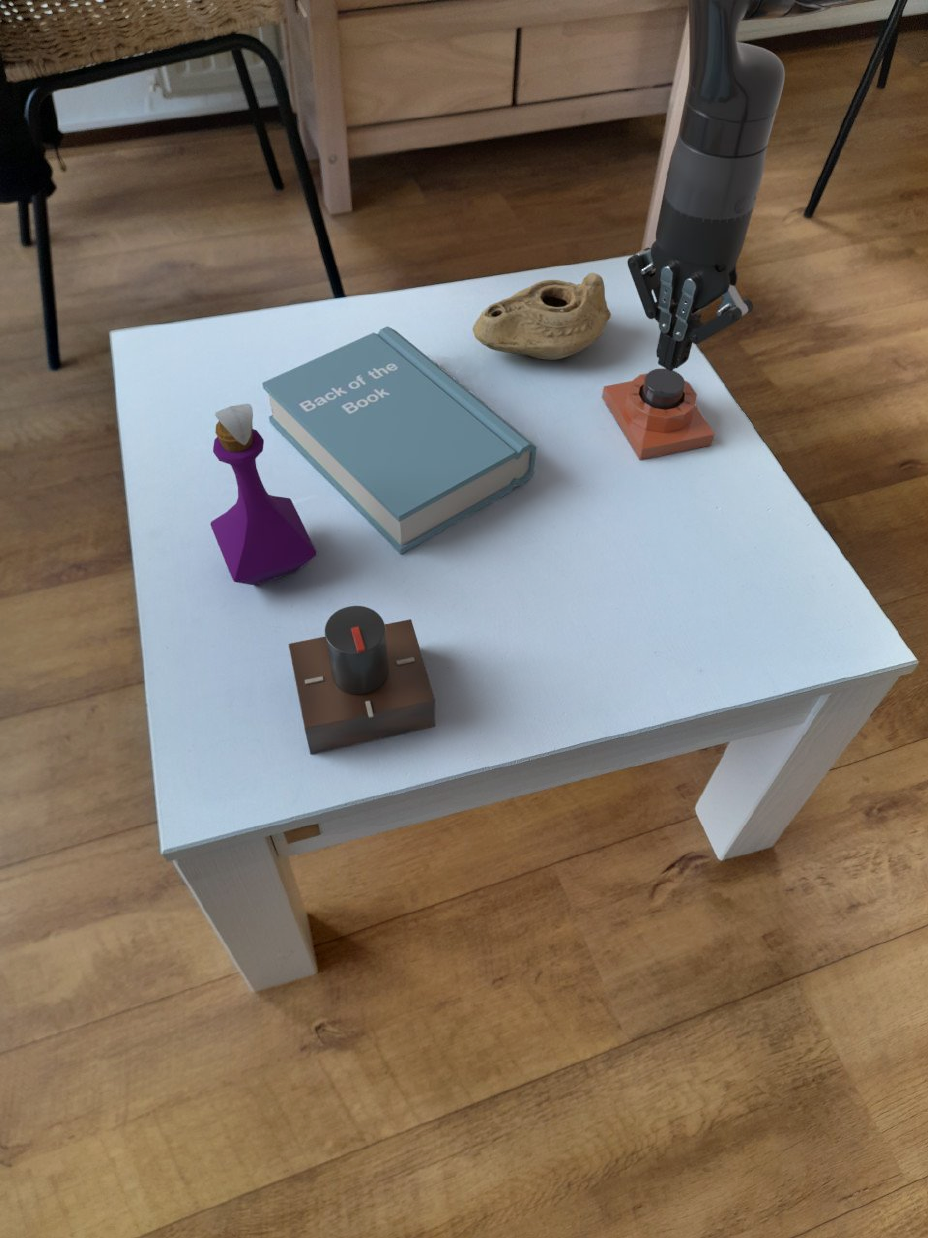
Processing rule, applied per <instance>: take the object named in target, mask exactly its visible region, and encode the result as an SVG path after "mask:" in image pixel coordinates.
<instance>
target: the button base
mask: <svg viewBox="0 0 928 1238" xmlns="http://www.w3.org/2000/svg"><path fill="white" fill-rule="evenodd" d="M648 373H649V372H647V373H641V374H639V375H637V377H635V378H634V379H632V380H630V381H625V382H620V383H619V382H618V383H613V384H609V385H604V386H603V389H602V395H601V398H602V400H603V401H604V403H605V405H606V407H607V409H608V410H609V412H610V414H611V416H613V419H614V420H615V421H616V424H617V425H618V426H619V428H620V430H621V432H622V433H623V435H624V437H625V438H626V440H627V442H628V444H629V445H630V447H631V448H632V450H633V452H634V453H635V455H636V456H637V458H638V460H639V461H643V460H647V459H652V458H658V457H662V456H667V455H671V454H675V453H680V452H681V453H682V452H685V451H690V450H695V449H701V448H705V447H709V446H710V447H711V446H712V445H713V443H714V439H715V435H716V434H715V432H714V431H713V429H712V428H711V426H710V425H709V424H708V422H707V420H706V419H705V417H704V416H703V415H702V413H701V412H700V410H699V408H698V407H697V397H698V395H697V392H696V391H695V390H694V388H693V386H692V385H691V384H690V382H689V381H687V380H685V379H684V381H685V387H684V391H683V395H682V399H681V402H680V404H679V405H678V406H677V407H675V408H672V409H667V410H664V409H658V408H653V407H652V406H650V405H648V404H646V403H645V402H644V401H643V399H642V389H643V385H644V380H645V377H646V375H647V374H648Z"/></svg>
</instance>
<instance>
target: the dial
mask: <svg viewBox="0 0 928 1238" xmlns="http://www.w3.org/2000/svg"><path fill="white" fill-rule="evenodd" d="M384 624H385V621H384V620H383V618H382V616H381V615H380V614H379V613H378V612H377V611H375V610H374V609H372V608H370V607H368V606H364V605H350V606H346V607H343V608H340V609H338V610H337V611H335V612H334V613H333V614H332V615H331V616H330V617H329V618H328V619H327V621H326V624H325V626H324V637H325V638H326V644H327V650H328V656H329V661H330V667H331V673H332V678H333V680H334V682H335V684H336V685H337V686H338V687H339V688H340V689H342V690H343V691H345V692H348V693H351V694H367V693H370V692H372V691H374V690H376V689H378V688H379V687H380V686H381V685H382V684H383V683H384V682H385V680H386V678H387V675H388V658H387V646H386V634H385V625H384Z"/></svg>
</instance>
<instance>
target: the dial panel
mask: <svg viewBox="0 0 928 1238" xmlns="http://www.w3.org/2000/svg"><path fill="white" fill-rule="evenodd" d="M384 625H385V634H386V646H387V658H388V675H387V678H386V680H385V682H384V683H383V684H382V685H381V686H380V687H379V688H378V689H376V690H374V691H372V692H370V693H367V694H351V693H348V692H345V691H343V690H342V689H340V688H339V687H338V686H337V685H336V684H335V682H334V680H333V678H332V673H331V667H330V661H329V656H328V650H327V644H326V638H325V636H321V637H315V638H311V639H306V640H300V641H295V642H292V643H288V649H289V650H288V651H289V656H290V659H291V660H290V661H291V665H292V670H293V676H294V681H295V686H296V692H297V697H298V702H299V708H300V712H301V717H302V724H303V728H304V732H305V737H306V741H307V745H308V749H309V750H308V751H309V753H310V755H314V754H318V753H323V752H328V751H332V750H337V749H342V748H345V747H350V746H355V745H358V744H359V745H360V744H364V743H368V742H373V741H377V740H382V739H386V738H390V737H395V736H399V735H403V734H408V733H413V732H417V731H421V730H426V729H430V728H434V727H436V699H435V695H434V692H433V689H432V685H431V681H430V678H429V675H428V671H427V669H426V665H425V661H424V658H423V654H422V651H421V648H420V644H419V641H418V637H417V633H416V631H415V627H414V625H413V620H412V618H411V619H409V618H408V619H405V620H400V621H396V622H390V623H384Z"/></svg>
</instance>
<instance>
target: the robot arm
mask: <svg viewBox="0 0 928 1238" xmlns="http://www.w3.org/2000/svg"><path fill="white" fill-rule="evenodd" d="M874 1H876V0H687V11H688V14H687V15H688V35H689V36H688V39H689V40H688V42H689V43H688V44H689V45H688V46H689V49H688V50H689V51H688V52H689V55H688V56H689V59H688V61H689V63H688V64H689V65H688V81H687V86H686V87H687V88H686V92H685V97H684V103H683V107H682V112H681V117H680V123H679V128H678V133H677V136H676V140H675V142H674V146H673V148H672V152H671V155H670V157H669V162H668V167H667V168H668V169H667V172H666V179H665V182H664V183H665V184H664V189H663V194H662V199H661V203H660V209H659V213H658V214H659V215H658V220H657V225H656V230H655V241H654V242H652V245H651V247H645V248H644V249H642V250H640V251H638V252H636V253H635V254H633V255H632V256H630V257H629V258H628V259H627V267H628V270H629V272H630V275H631V278H632V281H633V283H634V287H635V289H636V292H637V294H638V297H639V300H640V303H641V305H642V306H641V307H642V308H643V311H644V313H645V316H646V318H648V319H649V320H655V321H656V322H657V323H658V329H659V332H660V333H659V337H658V340H657V341H658V342H657V346H656V351H655V352H656V353H655V354H656V357H657V358H658V361H657V364H658V365H659V366H660V367H661V368H663V369H668V370H669V371H672V370H673V371H675V369H678V368H679V367H681V366H682V365H684V364H685V363H686V362H687V361H688V360H689V358H690V353H691V349H692V347H693V344H694V345H698V344H700V343H702V342H704V341H706V340H707V339H709V338H711V337H713V336H714V335H716V334H718V333H719V332H721V331H723V330H725V329H726V328H728V327H730V326H732V325H734V324H735V323H737V322H738V321H739V320H740V319H743V318H744V317H745V316H747V315H748V314H750V313H751V312H752V311H753V310H754V303H753V302H752V300H751V299H749V298H744V299H742V297H741V295H740V294H739V292H738V289H737V288H736V285H737V283H738V279H739V278H738V270H737V263H738V261H739V258H740V255H741V253H742V251H743V247H744V244H745V240H746V238H747V237H746V236H747V233H748V230H749V226H750V223H751V219H752V217H753V211H754V208H755V205H756V201H757V198H758V193H759V190H760V186H761V183H762V180H763V176H764V170H765V164H766V157H767V149H768V146H769V141H770V137H771V134H772V130H773V126H774V122H775V120H776V115H777V111H778V108H779V105H780V102H781V97H782V93H783V89H784V84H785V77H786V76H785V75H786V73H785V72H786V71H785V67H784V64H783V61H782V60H781V59H780V57H779V56H777V55H776V54H775V53H773V52H772V51H771V50H768V49H766V48H764V47H761V46H758V45H754V44H749V43H745V42H739V41H738V34H739V33H738V32H739V27H740V25H741V22H742V21H743V22H744V21H745V22H746V21H757V20H758V21H761V20H771V19H773V20H774V19H783V18H784V19H785V18H794V17H803V16H808V15H815V14H818V13H821V12H826V11H828V10H830V9H831V8H838V7H844V6H850V5H851V6H852V5H856V4H863V3H869V2H874ZM654 297H655V298H654ZM719 298H721V303H720V304H718V306H717V311H716V316H714V317H712V318H711V319H709V320H707V321H706V322H703V321H702V320H703V316H704V314H705V312H706V311H707V310H708V309H709V307H710V305H711V304H712V303H713V302H715V301H716V300H718V299H719ZM655 300H656V301H655Z"/></svg>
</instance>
